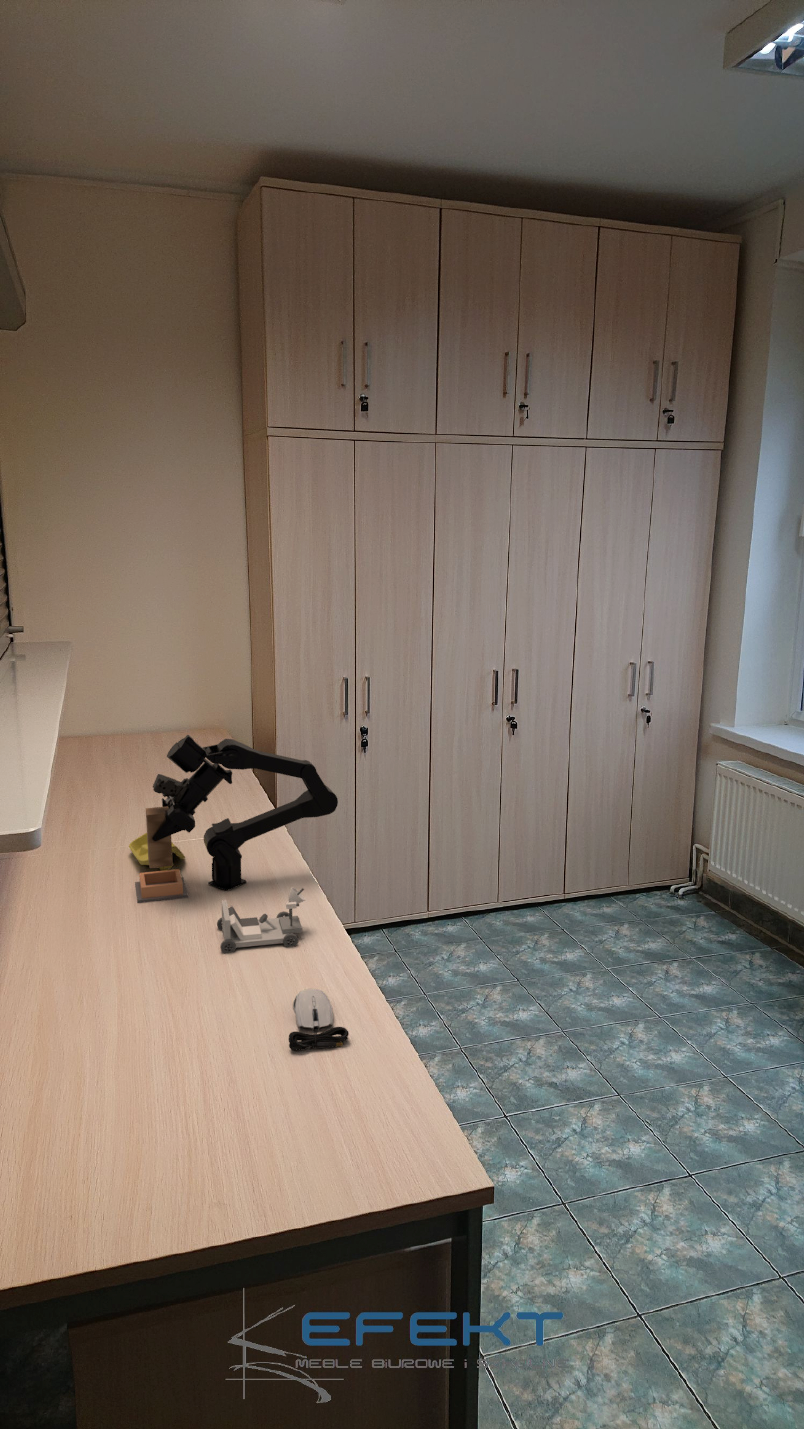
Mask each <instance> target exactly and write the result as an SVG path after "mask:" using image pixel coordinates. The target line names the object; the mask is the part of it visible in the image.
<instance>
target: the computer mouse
mask: <svg viewBox="0 0 804 1429" xmlns="http://www.w3.org/2000/svg"><path fill="white" fill-rule="evenodd" d="M292 1010H293V1012H294V1014H295V1017H296V1018H295V1019H296V1023H297V1026H298V1029H300V1028H302V1029H303V1028H304V1029H310V1030H312V1031H313V1034H310V1033H307V1032H302V1031H291V1032H290V1033H289V1035H288V1043H289V1044H288V1048H289V1049H290V1050H291V1051H295V1052H297V1051H298V1052H299V1051H304V1050H307V1049H309V1048H311V1049H329V1048H330V1049H331V1048H334V1049H335V1048H336V1047H343V1046H344V1044H343V1042H344V1041H348V1040H349V1030H348V1029H347V1028H346V1027H344V1026H335V1027H332V1026H333V1025H334V1016H333V1014H334V1013H333V1007H332V1004H331V1001H330V999H329V998H328V995H327V994H326V993H325V992H324V990H322V989H318V988H307V989H304V990H302V989H301V991H299V992H297V994H296V996H295V997H294V1001H293V1003H292ZM328 1026H331V1028H329V1029H327V1030H324V1031H323V1032H320V1033H319V1031H318V1030H320V1029H321V1028H323V1027H328Z"/></svg>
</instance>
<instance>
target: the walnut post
mask: <svg viewBox="0 0 804 1429" xmlns="http://www.w3.org/2000/svg"><path fill="white" fill-rule="evenodd" d="M165 810H166V811H168V810H169V807H168V806H166V807H162V806H158V807H147V808H145V821H146V833H147V844H148V861H149V865H148V866H149V869H155V868H159V867H166V866H172V867H173V866H174V865H173V864H174V862H173V853H172V843H173V841H172V835H170V836H167V837H165V838H163V839H160V840H158V841H154V840H153V839H152V837H153V836H154V834H155V833H156V831H157V830H158V828H159V827H160V825H161V824H162V823H163V821H164V820H165Z"/></svg>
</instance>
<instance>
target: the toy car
mask: <svg viewBox="0 0 804 1429" xmlns="http://www.w3.org/2000/svg"><path fill="white" fill-rule="evenodd" d="M289 890H290V891H289V893H288V902H285V908H286V910H288V911H280V912H278V914H276V917H273V918H271V917H270V918H269V916H268V914H266V913H263V914H262V915H260V917H259V919H258V917H257V916H255V917H245V918H244V917H243V918H241V917H240V916H239V915H238V913H237V911H236V910H235V908H234V906H232V905H231V906H230V907H229V906H228V902H227V899H224V900H223V899H222V900H221V917H220V918H219V919H218V920H217V922H216V925H217V926H216V927H217V930H219V931H222V936H223V941H222V942H221V944H220V951H221V953H223V954H229V953H234V952H235V951H236V948H237V949H238V948H246V947H255V946H265V945H277V944H283V946H284V947H285V948H290V947H292V948H293V947H297V946H298V943H299V938H298V936H297V934H298V933H302V932H303V926H302V922H301V920H300V918H299V915H293V909H297V908H298V907H300V903H303V902H305V901H306V898H305V896H304V895H303V894H302V892H303V891H304V890H305V889H304V888H301V890H298V889H297V888H295V887H293V886H291V887H290V889H289Z"/></svg>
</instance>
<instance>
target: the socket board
mask: <svg viewBox="0 0 804 1429" xmlns="http://www.w3.org/2000/svg"><path fill="white" fill-rule="evenodd" d="M138 877H139V881H135V882H134V885H135V887H134V888H135V892H136V893H135V895H136V900H137V904H139V903H140V904H141V903H149V902H150V903H152V902H159V901H167V900H178V899H180V900H181V899H187V898H189V894H188V889H187V886H186V883H185V877H183V876H182V875H181V872H180V869H179V868H178V869H168V870H165V871H161V870H158V871H157V870H155V871H146V872H139V876H138Z"/></svg>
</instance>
